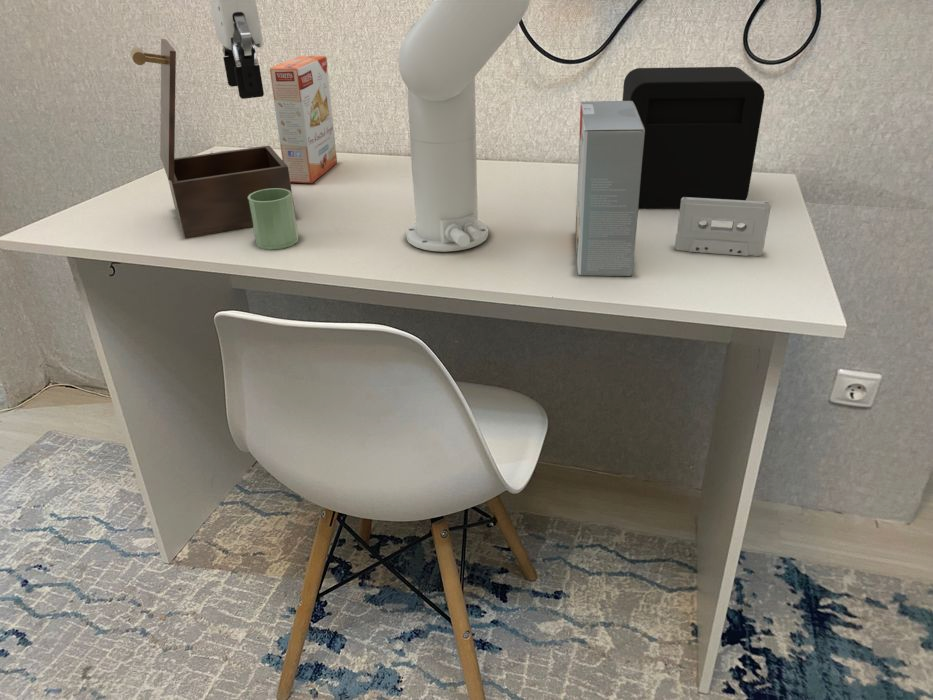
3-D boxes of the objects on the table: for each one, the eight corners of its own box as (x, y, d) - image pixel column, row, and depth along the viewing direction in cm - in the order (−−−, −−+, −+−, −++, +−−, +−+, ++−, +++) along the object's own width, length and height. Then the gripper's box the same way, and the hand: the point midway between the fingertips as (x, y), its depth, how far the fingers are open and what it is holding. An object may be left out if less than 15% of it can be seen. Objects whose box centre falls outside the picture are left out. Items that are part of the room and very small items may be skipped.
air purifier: (728, 181, 133) (746, 64, 123) (747, 209, 121) (768, 81, 111) (615, 181, 135) (623, 66, 125) (621, 208, 123) (631, 82, 113)
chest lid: (166, 39, 116) (128, 33, 114) (175, 51, 105) (134, 45, 102) (165, 157, 124) (130, 154, 122) (174, 180, 112) (135, 178, 110)
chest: (277, 194, 135) (269, 145, 130) (296, 219, 123) (288, 166, 119) (175, 210, 129) (163, 159, 124) (184, 238, 117) (171, 183, 112)
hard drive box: (574, 234, 113) (580, 100, 103) (624, 234, 113) (635, 99, 103) (576, 276, 100) (584, 127, 90) (634, 277, 99) (647, 127, 89)
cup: (302, 244, 113) (295, 197, 109) (260, 252, 111) (252, 204, 107) (293, 231, 118) (286, 185, 114) (253, 238, 116) (244, 192, 112)
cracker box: (314, 184, 139) (298, 67, 128) (284, 183, 140) (266, 67, 130) (340, 163, 151) (327, 54, 140) (312, 162, 152) (297, 54, 141)
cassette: (761, 252, 105) (771, 200, 101) (762, 257, 104) (772, 205, 100) (674, 246, 108) (680, 195, 104) (674, 251, 107) (680, 200, 103)
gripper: (264, -47, 89) (285, 99, 98) (240, -50, 103) (261, 78, 112) (200, -44, 87) (228, 105, 95) (184, -48, 100) (210, 83, 109)
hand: (245, 91), depth 104 cm, fingers open, 9 cm apart
